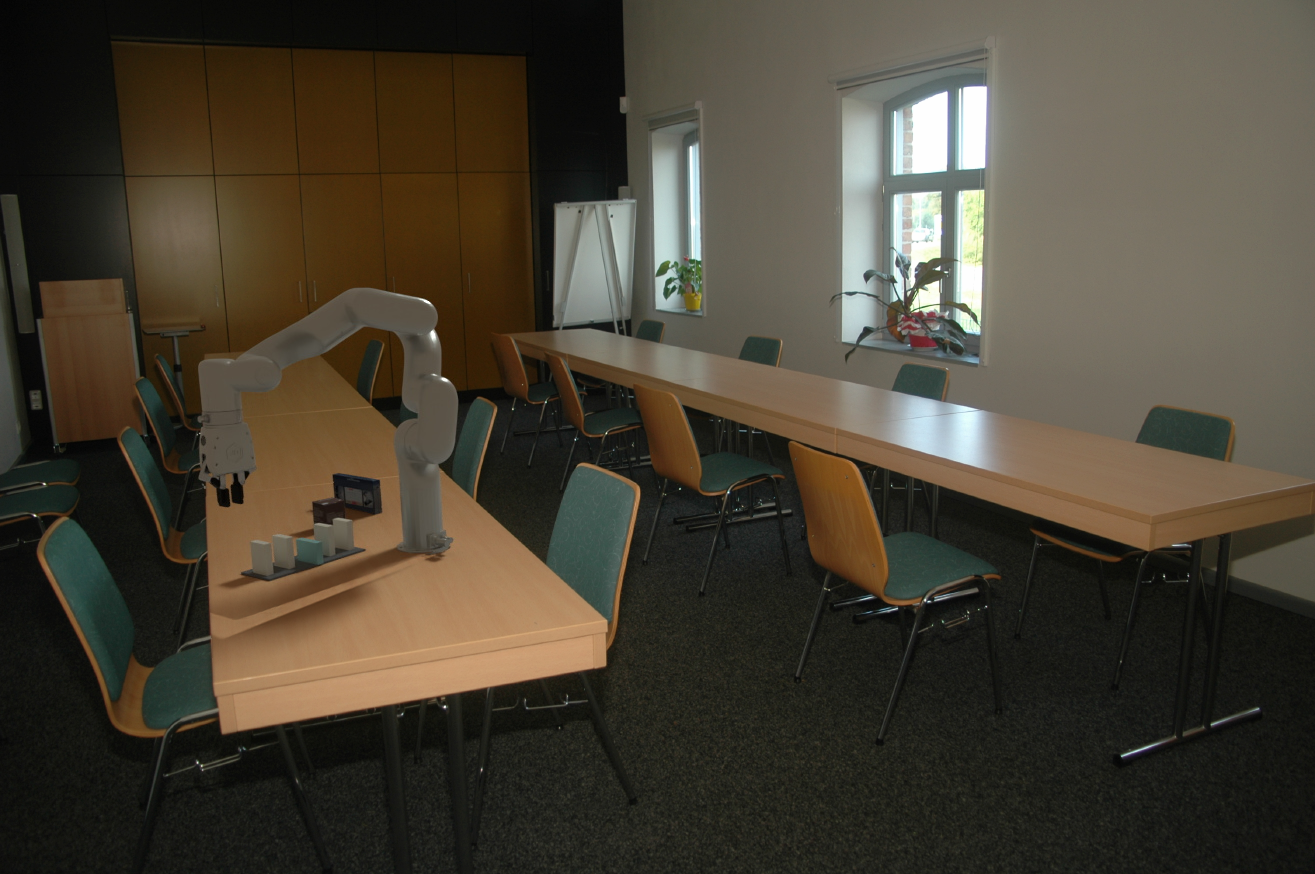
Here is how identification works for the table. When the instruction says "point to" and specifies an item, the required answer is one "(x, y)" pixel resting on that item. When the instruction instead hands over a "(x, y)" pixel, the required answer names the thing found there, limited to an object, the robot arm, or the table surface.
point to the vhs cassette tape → (358, 492)
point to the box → (328, 510)
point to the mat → (302, 564)
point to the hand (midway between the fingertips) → (231, 504)
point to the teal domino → (309, 551)
